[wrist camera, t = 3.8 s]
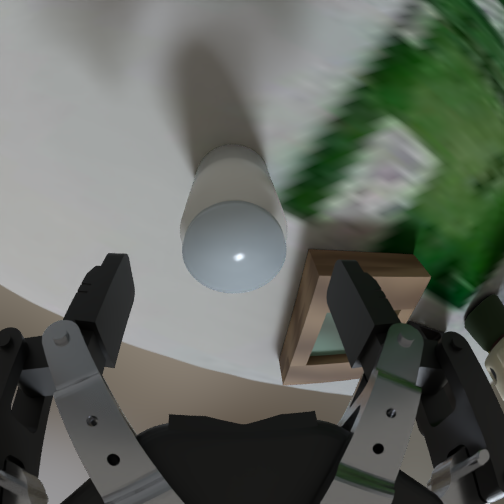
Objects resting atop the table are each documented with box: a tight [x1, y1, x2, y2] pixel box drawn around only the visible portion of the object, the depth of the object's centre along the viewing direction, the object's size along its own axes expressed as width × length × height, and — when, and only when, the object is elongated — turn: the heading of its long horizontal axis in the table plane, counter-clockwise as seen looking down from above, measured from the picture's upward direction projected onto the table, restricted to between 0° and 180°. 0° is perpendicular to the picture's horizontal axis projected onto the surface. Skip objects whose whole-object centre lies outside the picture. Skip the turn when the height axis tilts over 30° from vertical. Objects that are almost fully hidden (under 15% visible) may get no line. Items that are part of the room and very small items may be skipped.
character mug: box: [465, 294, 504, 401], centre depth 24 cm, size 11×7×13 cm, turn 64°
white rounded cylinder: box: [180, 144, 287, 293], centre depth 15 cm, size 5×5×8 cm
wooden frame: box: [279, 249, 431, 385], centre depth 25 cm, size 14×10×3 cm
